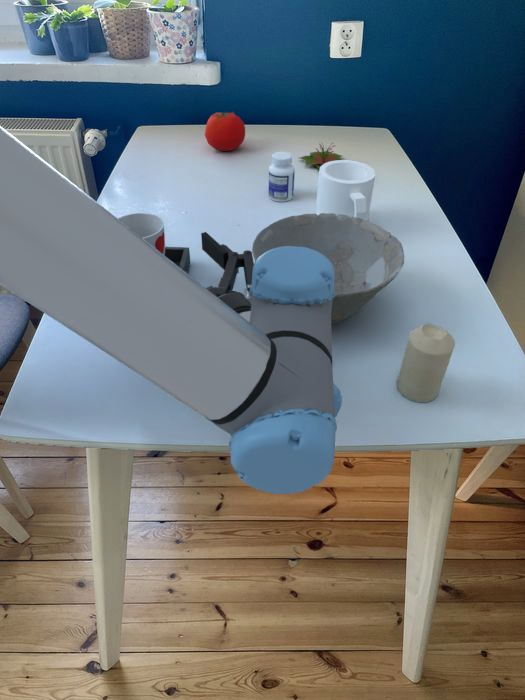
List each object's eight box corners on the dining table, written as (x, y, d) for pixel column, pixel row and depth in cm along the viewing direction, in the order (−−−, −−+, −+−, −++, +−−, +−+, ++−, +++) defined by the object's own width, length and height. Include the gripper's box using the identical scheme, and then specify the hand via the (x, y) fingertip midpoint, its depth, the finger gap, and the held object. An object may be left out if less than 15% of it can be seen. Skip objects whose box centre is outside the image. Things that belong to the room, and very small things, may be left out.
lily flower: (288, 159, 128) (289, 140, 125) (328, 149, 133) (330, 130, 130) (319, 178, 120) (321, 158, 117) (360, 166, 125) (363, 147, 122)
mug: (383, 241, 100) (394, 187, 93) (333, 249, 98) (339, 194, 91) (353, 208, 110) (360, 157, 103) (306, 215, 108) (311, 163, 100)
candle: (441, 380, 73) (461, 323, 67) (434, 408, 69) (453, 350, 63) (402, 368, 75) (416, 311, 68) (392, 395, 71) (407, 337, 64)
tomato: (252, 146, 134) (252, 110, 128) (228, 159, 127) (227, 123, 122) (221, 138, 137) (220, 103, 132) (197, 151, 131) (194, 115, 125)
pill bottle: (279, 188, 116) (280, 147, 110) (298, 196, 114) (300, 154, 108) (263, 197, 113) (263, 155, 107) (282, 205, 111) (284, 162, 105)
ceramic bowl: (233, 335, 80) (232, 279, 73) (272, 255, 96) (274, 204, 89) (384, 364, 75) (397, 308, 69) (398, 275, 92) (409, 223, 85)
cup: (137, 300, 85) (127, 244, 78) (111, 278, 89) (100, 223, 82) (179, 281, 89) (174, 227, 82) (153, 261, 93) (145, 207, 86)
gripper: (144, 398, 61) (81, 301, 74) (319, 325, 71) (237, 252, 84) (135, 348, 56) (69, 254, 69) (325, 277, 66) (236, 208, 79)
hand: (161, 253), depth 77 cm, fingers open, 13 cm apart
